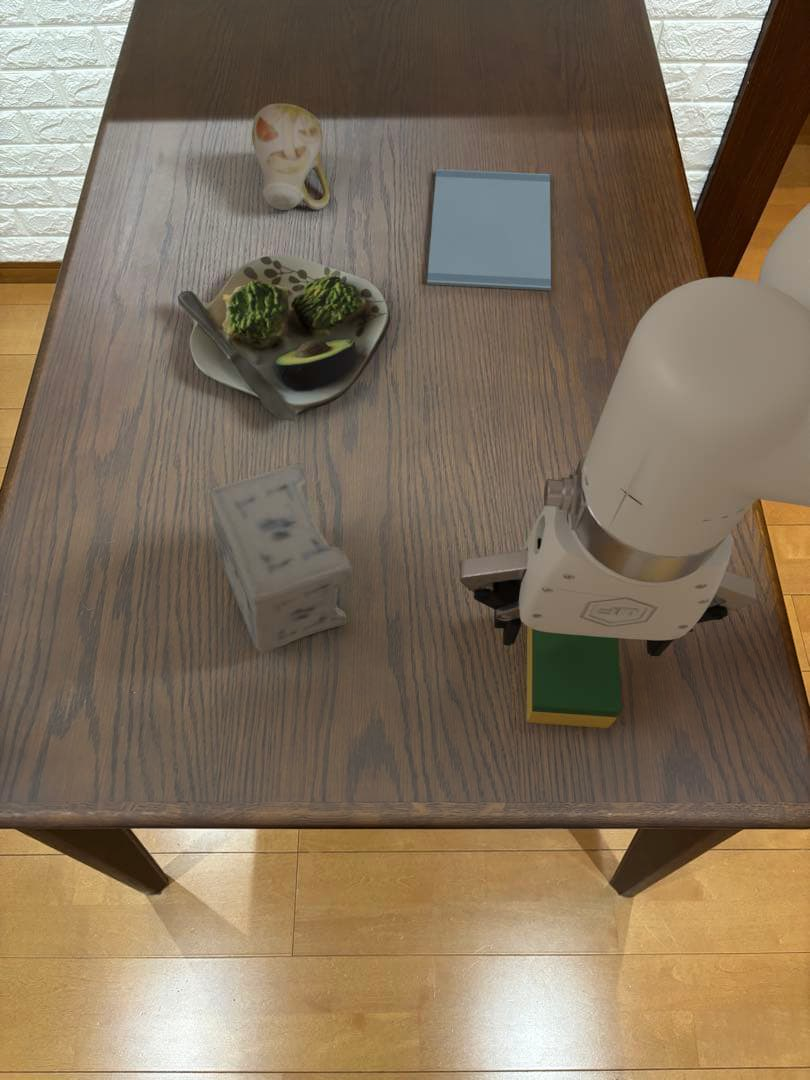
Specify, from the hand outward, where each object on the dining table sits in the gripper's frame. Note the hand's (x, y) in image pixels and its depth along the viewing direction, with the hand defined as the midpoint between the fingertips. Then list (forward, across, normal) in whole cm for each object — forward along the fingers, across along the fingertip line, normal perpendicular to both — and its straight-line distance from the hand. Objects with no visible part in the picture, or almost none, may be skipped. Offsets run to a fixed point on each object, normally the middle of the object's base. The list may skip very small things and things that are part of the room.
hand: (579, 630), depth 56 cm
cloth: (+8, -6, +46) cm, 47 cm away
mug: (+9, -27, +51) cm, 59 cm away
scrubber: (+8, +1, 0) cm, 8 cm away
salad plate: (+9, -24, +30) cm, 40 cm away
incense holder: (+9, -21, +5) cm, 24 cm away
